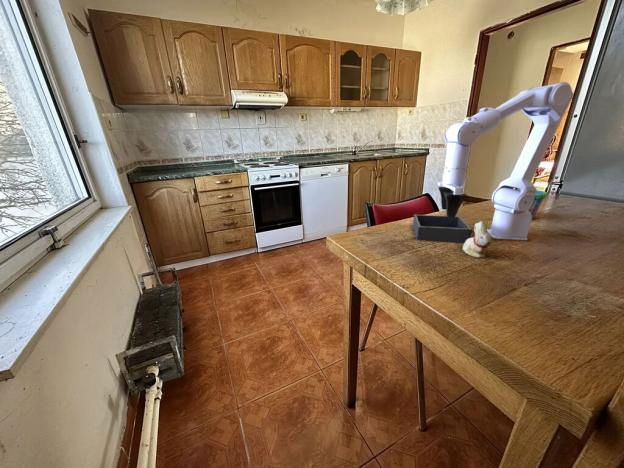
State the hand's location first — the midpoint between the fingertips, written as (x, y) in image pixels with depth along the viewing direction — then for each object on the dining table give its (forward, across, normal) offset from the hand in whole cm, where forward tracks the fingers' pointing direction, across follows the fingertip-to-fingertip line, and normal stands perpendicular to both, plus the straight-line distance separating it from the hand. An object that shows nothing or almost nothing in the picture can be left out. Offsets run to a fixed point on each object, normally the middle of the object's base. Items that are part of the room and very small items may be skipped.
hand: (448, 212), depth 79 cm
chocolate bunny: (+10, +7, +7) cm, 14 cm away
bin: (+10, -7, 0) cm, 12 cm away
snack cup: (+10, -32, +34) cm, 48 cm away
